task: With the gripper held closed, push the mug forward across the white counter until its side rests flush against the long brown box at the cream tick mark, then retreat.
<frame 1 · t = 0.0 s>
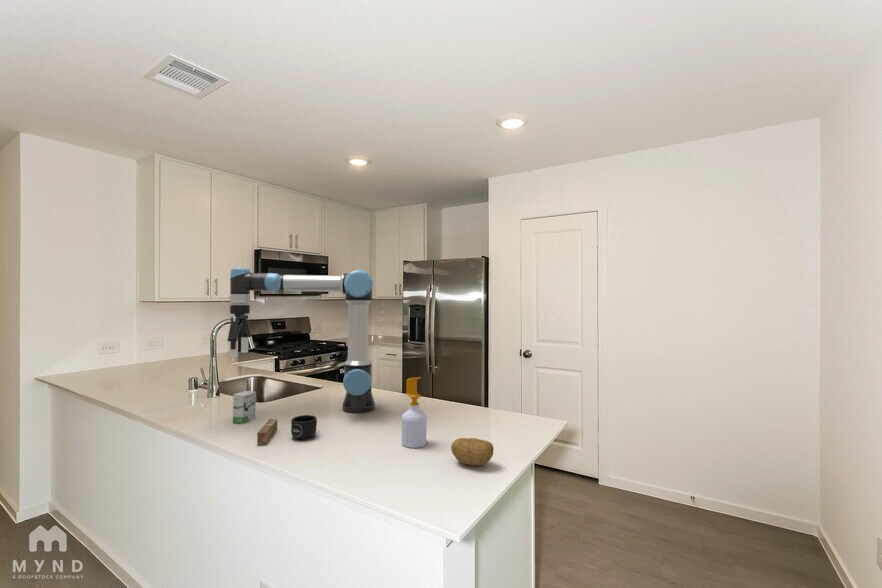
hand: (239, 354, 172), 28 cm above the counter, fingers open, 13 cm apart
ink box: (244, 421, 173), on the counter
soap bottle: (413, 444, 149), on the counter
long brown box: (267, 437, 153), on the counter
mug: (306, 436, 155), on the counter
potato: (471, 464, 132), on the counter
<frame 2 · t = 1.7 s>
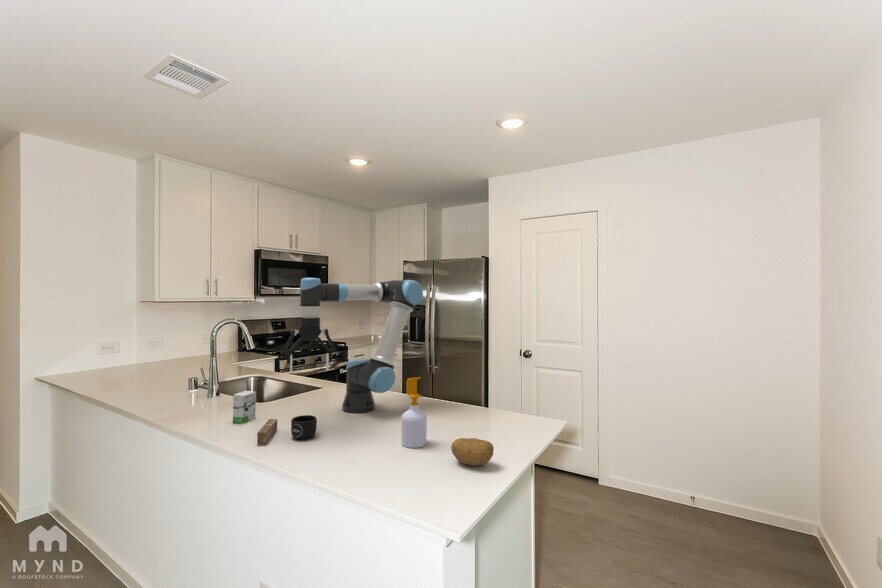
hand: (309, 371, 161), 24 cm above the counter, fingers open, 13 cm apart
nothing on the counter moved.
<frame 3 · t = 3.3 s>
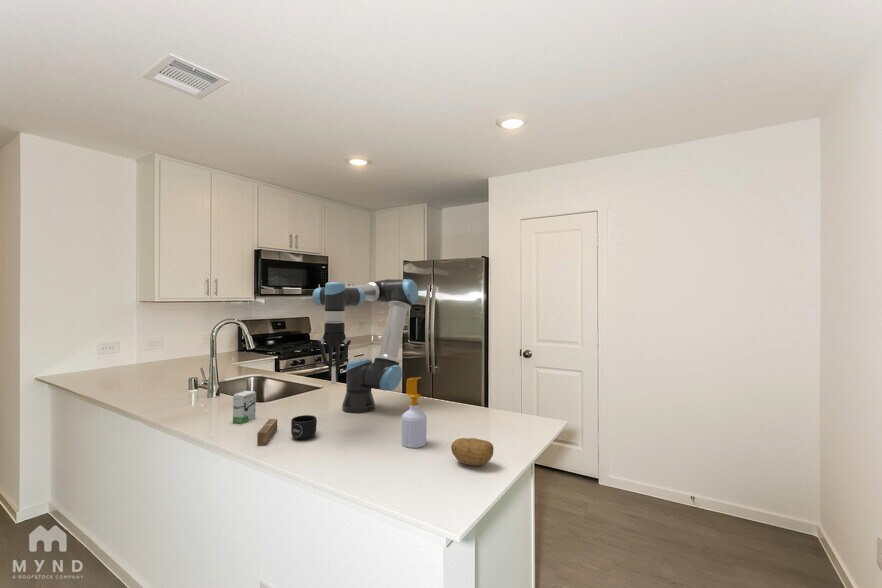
hand: (333, 383, 157), 20 cm above the counter, fingers closed
nothing on the counter moved.
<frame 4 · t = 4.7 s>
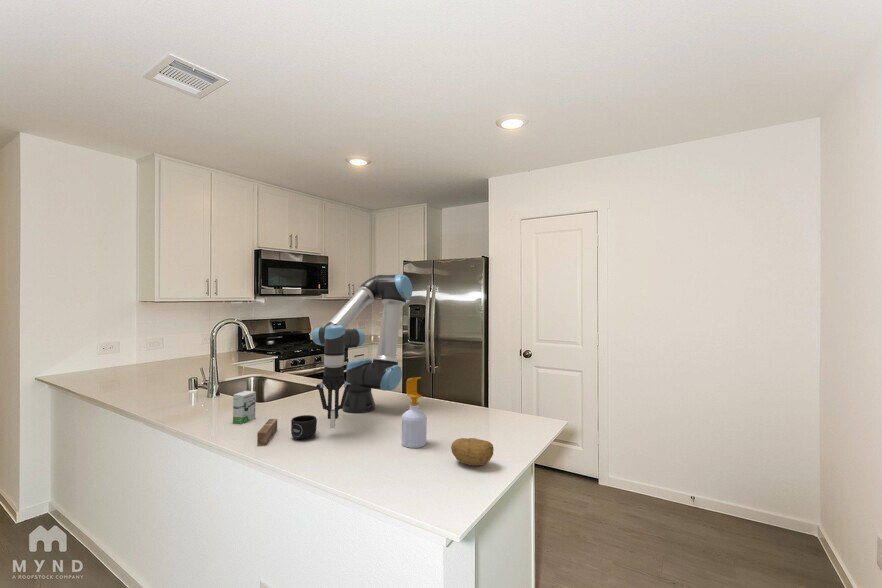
hand: (332, 427, 157), 3 cm above the counter, fingers closed
nothing on the counter moved.
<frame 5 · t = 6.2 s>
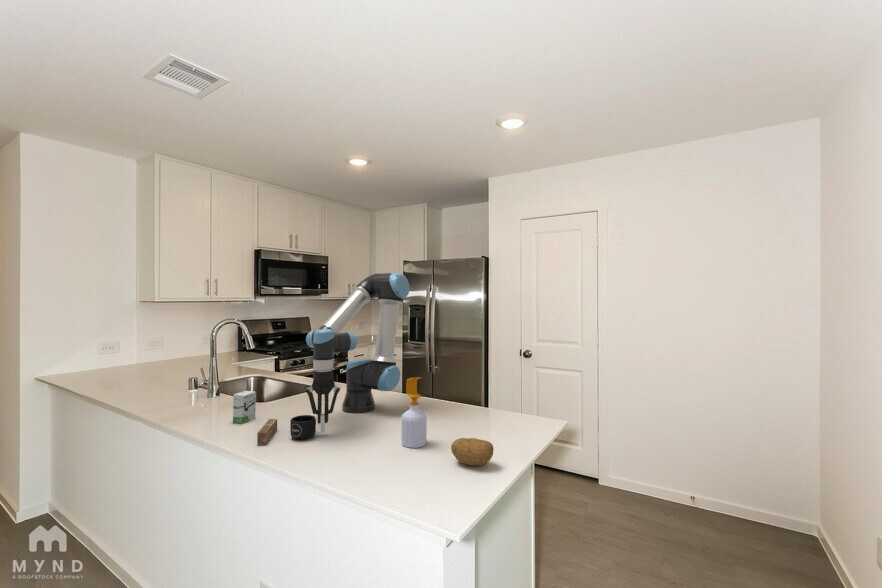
hand: (322, 431, 156), 1 cm above the counter, fingers closed
mug: (305, 436, 155), on the counter, touching gripper
everything else where it was.
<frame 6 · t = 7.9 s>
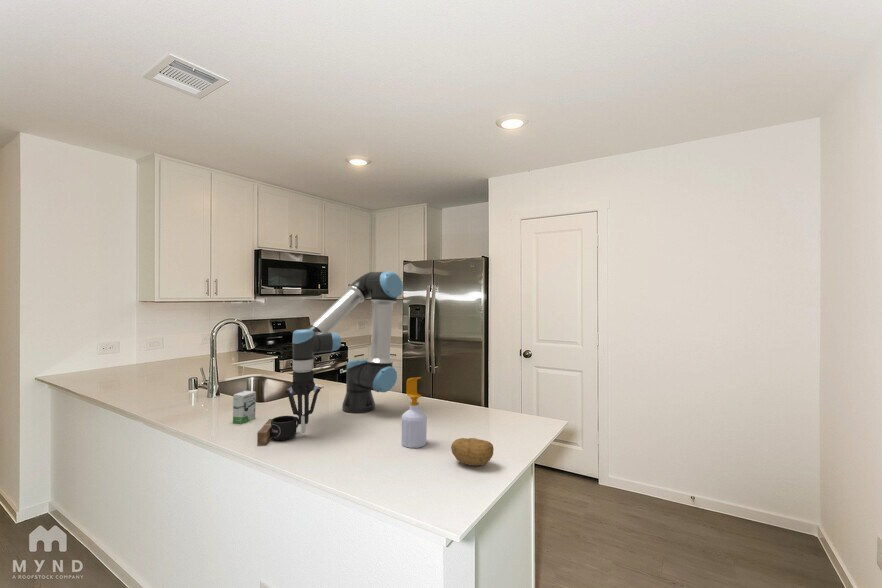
hand: (303, 432, 155), 1 cm above the counter, fingers closed
mug: (286, 437, 154), on the counter, touching long brown box, gripper
everything else where it was.
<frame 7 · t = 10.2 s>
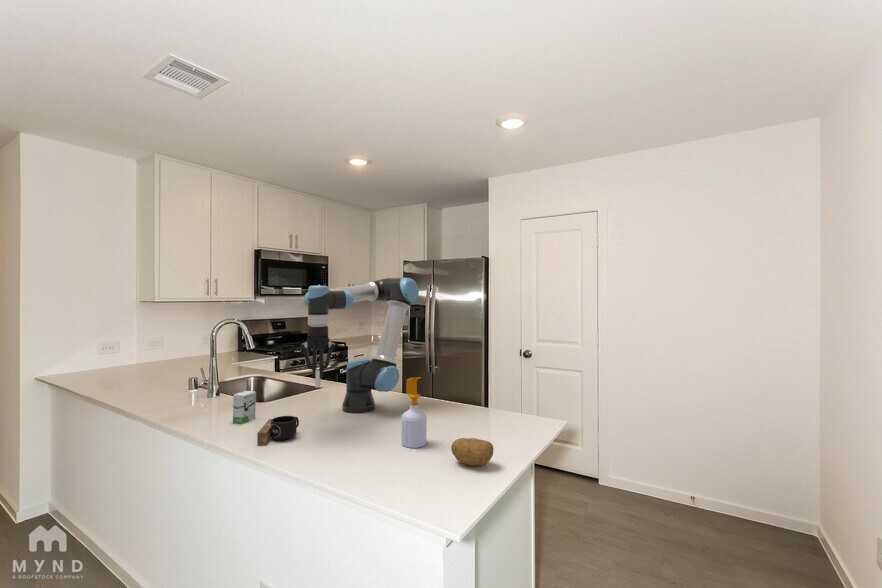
hand: (317, 386, 157), 18 cm above the counter, fingers closed
mug: (286, 437, 154), on the counter
everything else where it was.
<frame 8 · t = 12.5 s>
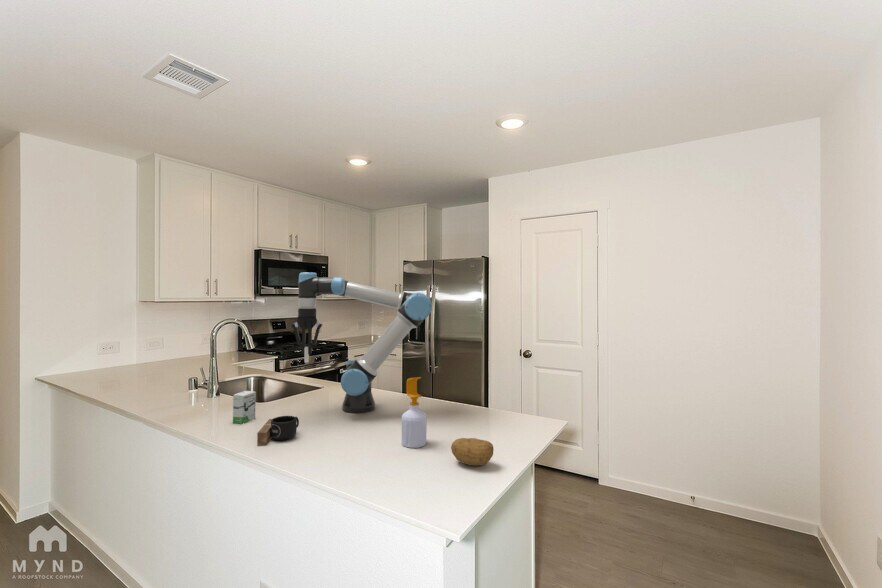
hand: (306, 361, 178), 24 cm above the counter, fingers closed
nothing on the counter moved.
at the end: mug inside the target area on the counter beside the long brown box (0.4 cm from its centre), on the counter; mug tilted 0° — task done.
